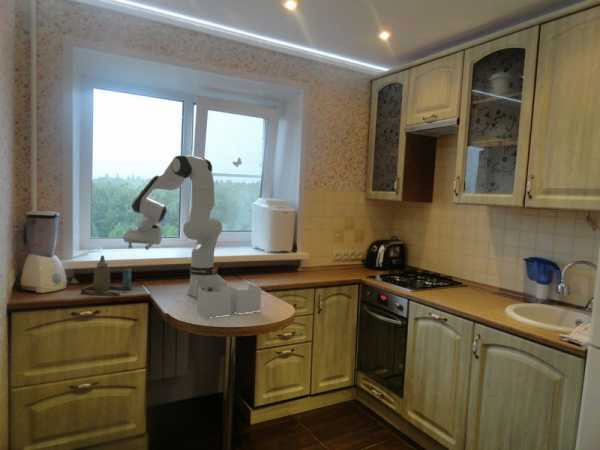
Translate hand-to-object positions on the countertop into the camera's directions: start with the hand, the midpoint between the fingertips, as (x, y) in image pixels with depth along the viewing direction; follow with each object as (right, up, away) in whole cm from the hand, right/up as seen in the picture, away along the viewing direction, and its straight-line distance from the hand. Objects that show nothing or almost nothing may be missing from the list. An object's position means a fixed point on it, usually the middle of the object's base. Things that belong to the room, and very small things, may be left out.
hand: (138, 248), depth 217 cm
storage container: (+57, -26, -43) cm, 76 cm away
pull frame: (-8, -21, -18) cm, 28 cm away
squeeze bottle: (-11, -21, -18) cm, 29 cm away
